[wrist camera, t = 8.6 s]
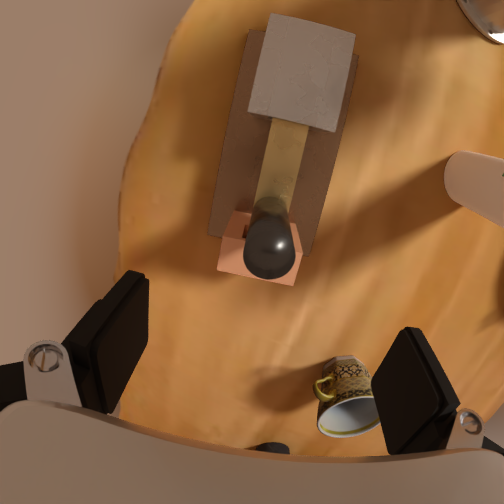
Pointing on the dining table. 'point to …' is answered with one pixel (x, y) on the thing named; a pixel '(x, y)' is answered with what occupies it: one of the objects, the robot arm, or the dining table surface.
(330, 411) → the ceramic cup
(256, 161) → the brown wooden base board
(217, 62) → the dining table surface
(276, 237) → the sliding bolt with handle
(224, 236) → the socket
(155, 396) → the dining table surface
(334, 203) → the dining table surface
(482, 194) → the cylindrical container
